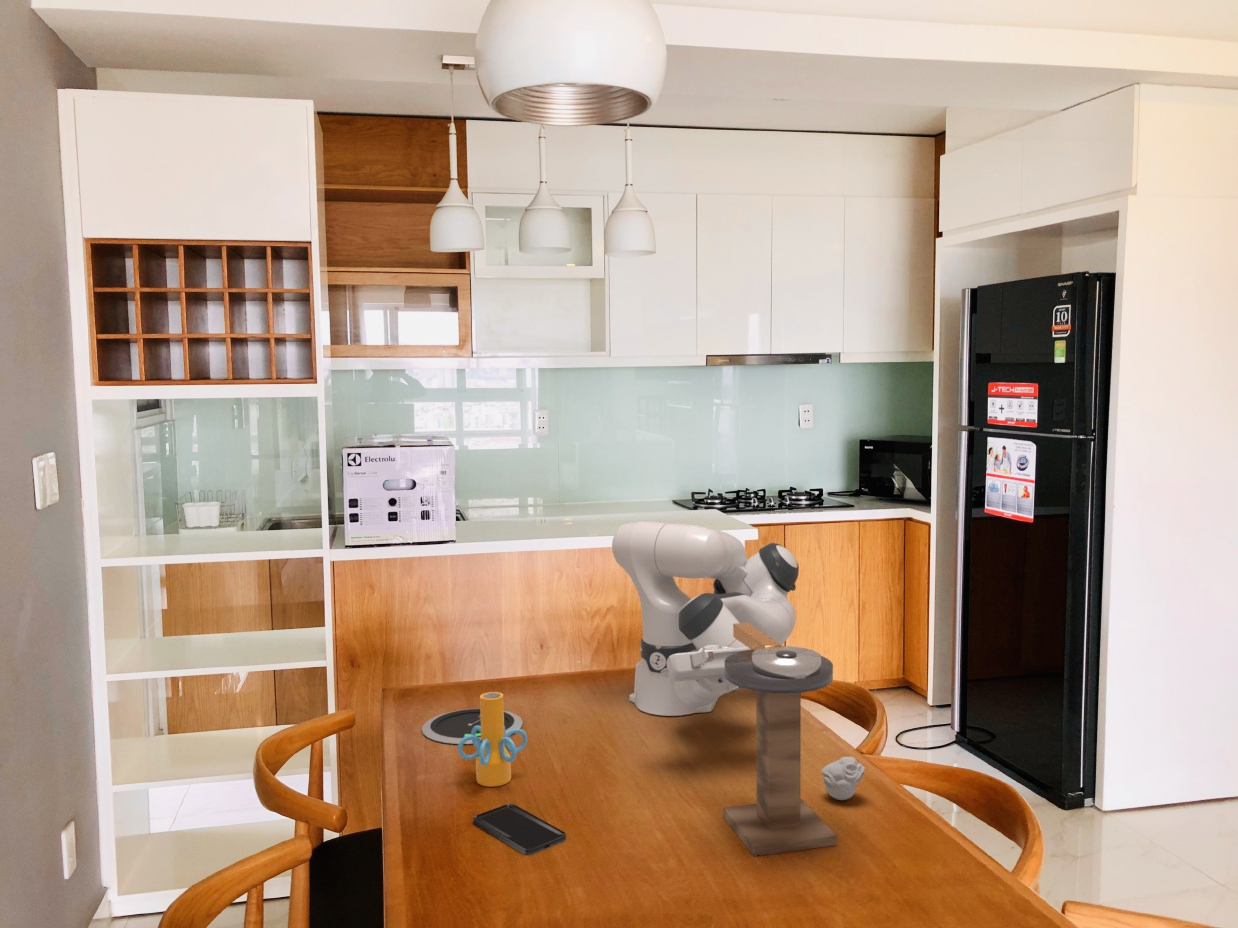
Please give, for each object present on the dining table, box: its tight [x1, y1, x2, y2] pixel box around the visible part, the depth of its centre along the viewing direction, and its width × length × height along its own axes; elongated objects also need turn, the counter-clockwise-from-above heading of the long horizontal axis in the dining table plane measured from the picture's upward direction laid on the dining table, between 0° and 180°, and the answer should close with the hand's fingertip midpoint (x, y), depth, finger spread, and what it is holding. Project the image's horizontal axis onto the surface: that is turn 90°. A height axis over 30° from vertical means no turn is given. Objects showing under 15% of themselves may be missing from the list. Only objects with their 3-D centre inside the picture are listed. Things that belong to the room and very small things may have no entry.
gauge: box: [421, 708, 524, 746], centre depth 191 cm, size 20×20×1 cm
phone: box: [472, 803, 567, 856], centre depth 146 cm, size 8×1×15 cm
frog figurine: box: [820, 756, 866, 801], centre depth 155 cm, size 6×7×7 cm
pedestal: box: [722, 650, 838, 857], centre depth 144 cm, size 16×16×26 cm
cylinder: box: [457, 691, 528, 788], centre depth 164 cm, size 12×10×15 cm
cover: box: [733, 623, 822, 679], centre depth 146 cm, size 24×10×2 cm, turn 13°
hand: (735, 651), depth 161 cm, fingers open, 8 cm apart
